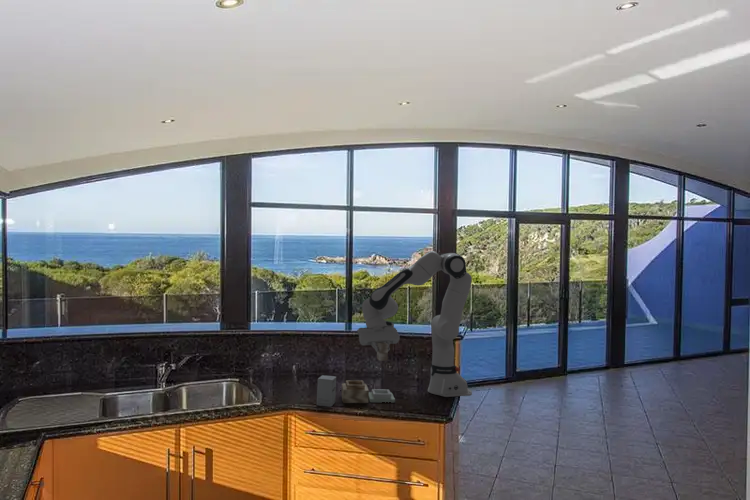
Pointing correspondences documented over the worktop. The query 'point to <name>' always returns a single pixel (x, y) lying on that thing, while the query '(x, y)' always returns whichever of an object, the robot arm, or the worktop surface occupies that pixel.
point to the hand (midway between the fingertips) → (382, 350)
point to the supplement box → (326, 390)
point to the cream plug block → (382, 351)
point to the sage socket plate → (381, 396)
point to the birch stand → (355, 392)
